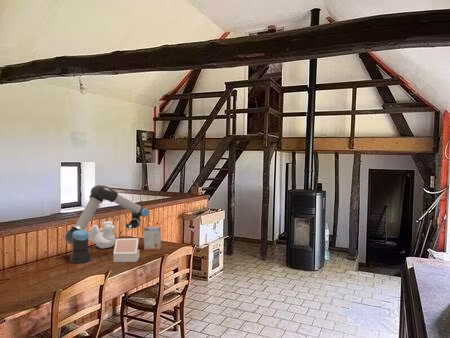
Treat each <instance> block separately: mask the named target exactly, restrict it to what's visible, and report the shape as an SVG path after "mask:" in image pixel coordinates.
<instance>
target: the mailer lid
mask: <svg viewBox="0 0 450 338" xmlns="http://www.w3.org/2000/svg"><path fill="white" fill-rule="evenodd" d="M115 239H116V241H115V244H114V247H113V248H114V249H113V255H114V254H137V250H138V249H139V246H138V245H139V239H140V238H139V237H135V238H115Z"/></svg>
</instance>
